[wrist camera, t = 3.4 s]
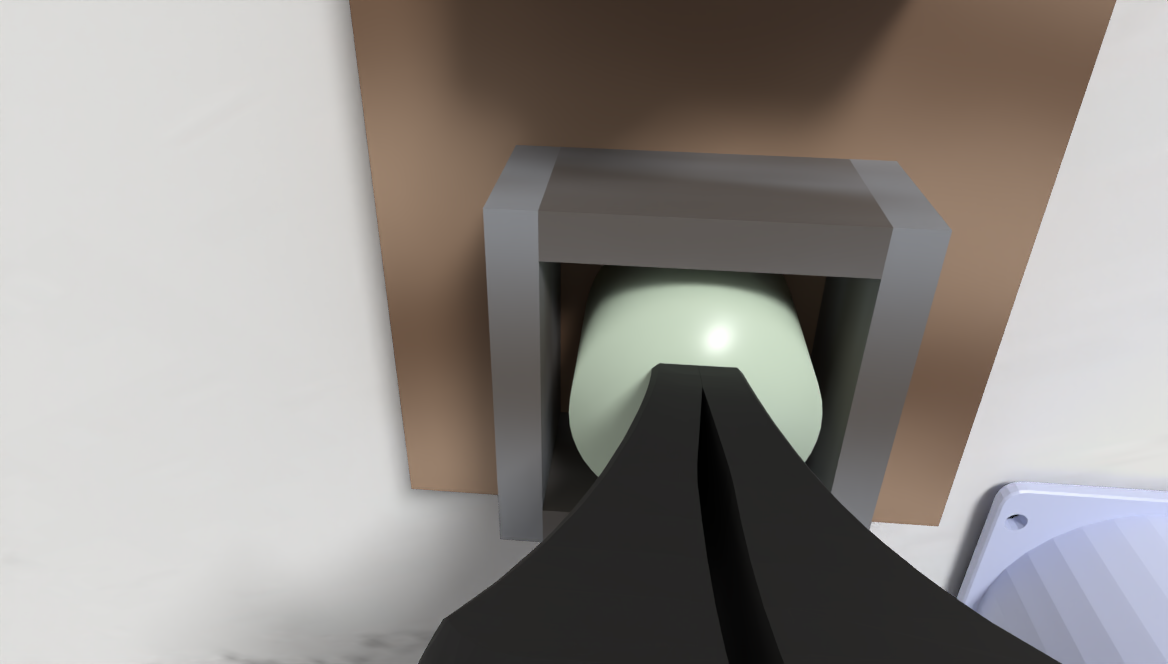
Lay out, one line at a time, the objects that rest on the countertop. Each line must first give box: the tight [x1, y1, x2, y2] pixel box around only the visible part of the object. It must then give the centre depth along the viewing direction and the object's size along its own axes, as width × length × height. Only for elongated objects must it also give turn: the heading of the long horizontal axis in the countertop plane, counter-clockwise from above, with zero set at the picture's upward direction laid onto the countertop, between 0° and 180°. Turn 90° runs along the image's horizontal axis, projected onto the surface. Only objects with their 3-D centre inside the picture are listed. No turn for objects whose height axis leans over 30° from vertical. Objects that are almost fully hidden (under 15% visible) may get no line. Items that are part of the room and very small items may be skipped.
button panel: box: [349, 0, 1116, 542], centre depth 12 cm, size 20×12×5 cm, turn 179°
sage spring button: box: [569, 265, 822, 477], centre depth 14 cm, size 4×4×3 cm
